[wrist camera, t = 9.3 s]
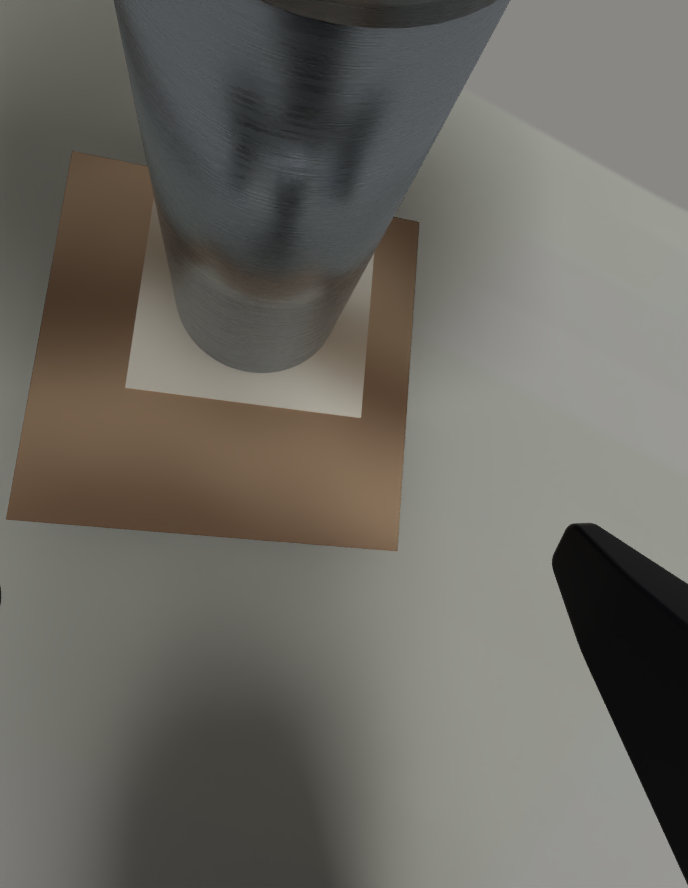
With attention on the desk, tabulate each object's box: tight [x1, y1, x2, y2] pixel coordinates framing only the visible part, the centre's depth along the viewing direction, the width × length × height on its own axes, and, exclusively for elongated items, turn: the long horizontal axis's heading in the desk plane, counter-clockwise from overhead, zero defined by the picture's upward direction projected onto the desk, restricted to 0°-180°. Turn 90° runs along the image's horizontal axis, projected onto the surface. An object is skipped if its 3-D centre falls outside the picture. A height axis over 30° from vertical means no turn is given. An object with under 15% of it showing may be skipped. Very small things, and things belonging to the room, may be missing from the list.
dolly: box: [6, 151, 419, 551], centre depth 18 cm, size 11×11×3 cm
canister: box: [114, 0, 510, 373], centre depth 11 cm, size 5×5×13 cm
